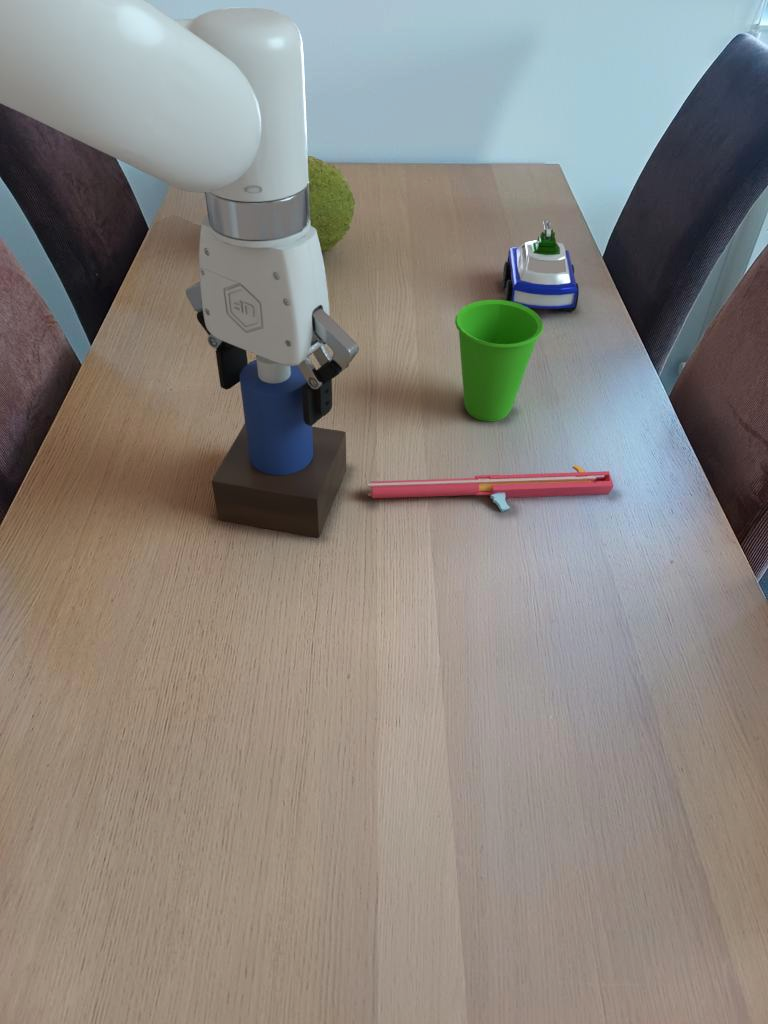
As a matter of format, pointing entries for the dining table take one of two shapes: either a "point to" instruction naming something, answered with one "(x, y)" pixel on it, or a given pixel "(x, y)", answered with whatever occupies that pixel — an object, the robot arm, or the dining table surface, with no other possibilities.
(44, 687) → the dining table surface
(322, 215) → the fruit
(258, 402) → the bottle
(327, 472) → the block
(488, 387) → the cup
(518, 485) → the pink long slotted bar
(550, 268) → the toy car
